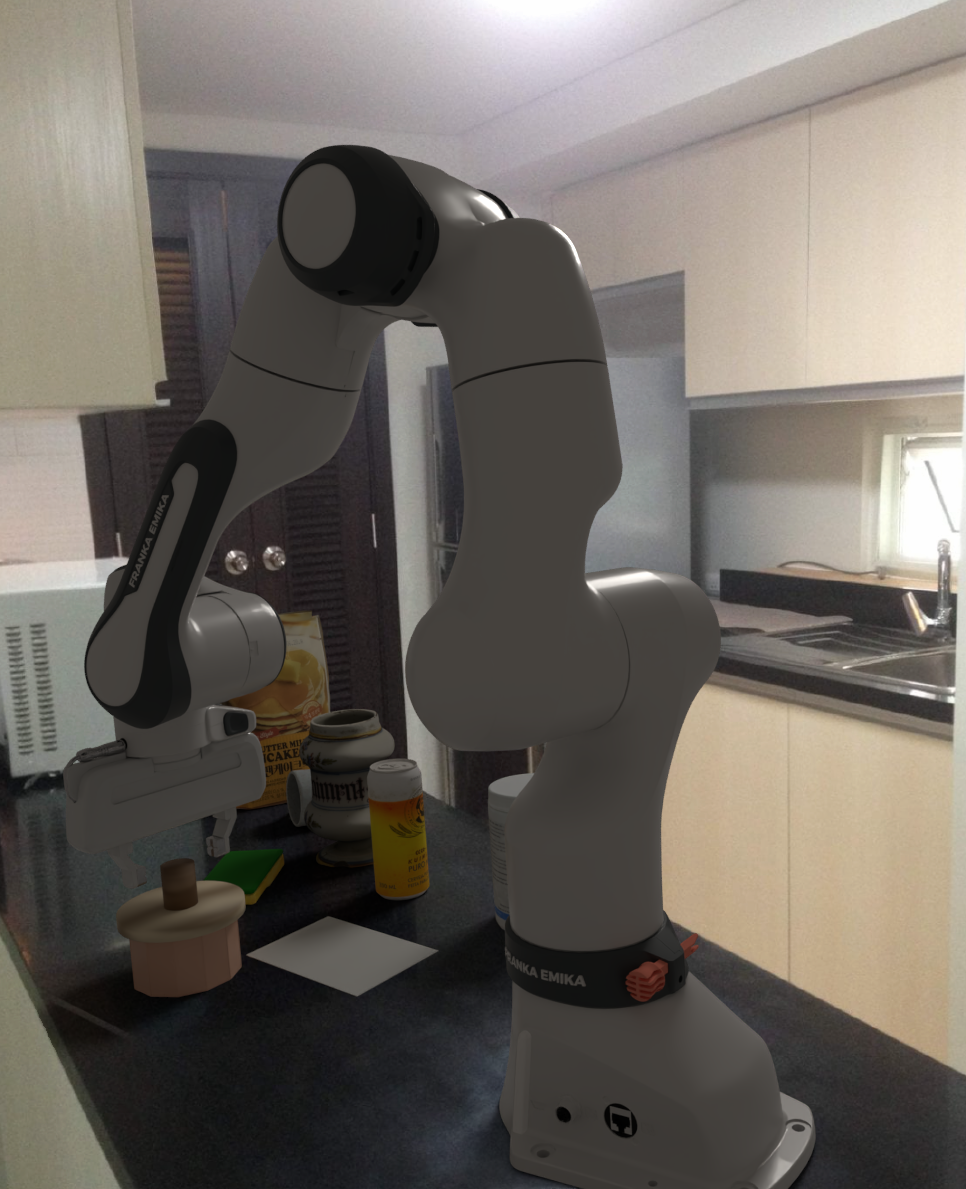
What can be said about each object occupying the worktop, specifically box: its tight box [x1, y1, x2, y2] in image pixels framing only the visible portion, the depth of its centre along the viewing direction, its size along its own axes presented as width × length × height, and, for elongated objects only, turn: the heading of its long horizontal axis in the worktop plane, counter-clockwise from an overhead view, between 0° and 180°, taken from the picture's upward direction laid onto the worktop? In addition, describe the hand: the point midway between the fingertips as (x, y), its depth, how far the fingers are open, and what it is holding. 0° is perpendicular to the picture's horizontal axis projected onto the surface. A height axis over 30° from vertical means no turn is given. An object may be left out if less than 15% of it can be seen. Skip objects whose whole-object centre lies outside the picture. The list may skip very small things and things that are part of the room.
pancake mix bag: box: [219, 610, 331, 810], centre depth 162 cm, size 7×19×28 cm, turn 119°
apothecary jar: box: [299, 708, 395, 869], centre depth 135 cm, size 12×12×18 cm
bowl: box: [128, 919, 243, 998], centre depth 105 cm, size 10×10×6 cm
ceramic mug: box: [286, 769, 312, 828], centre depth 153 cm, size 11×8×8 cm
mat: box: [245, 915, 439, 997], centre depth 107 cm, size 16×11×1 cm
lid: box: [115, 857, 246, 943], centre depth 104 cm, size 12×12×5 cm
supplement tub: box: [487, 772, 535, 931], centre depth 112 cm, size 10×10×15 cm
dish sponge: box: [202, 848, 285, 905], centre depth 129 cm, size 7×14×2 cm, turn 177°
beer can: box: [367, 758, 430, 901], centre depth 122 cm, size 6×6×15 cm
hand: (178, 869), depth 104 cm, fingers open, 8 cm apart
